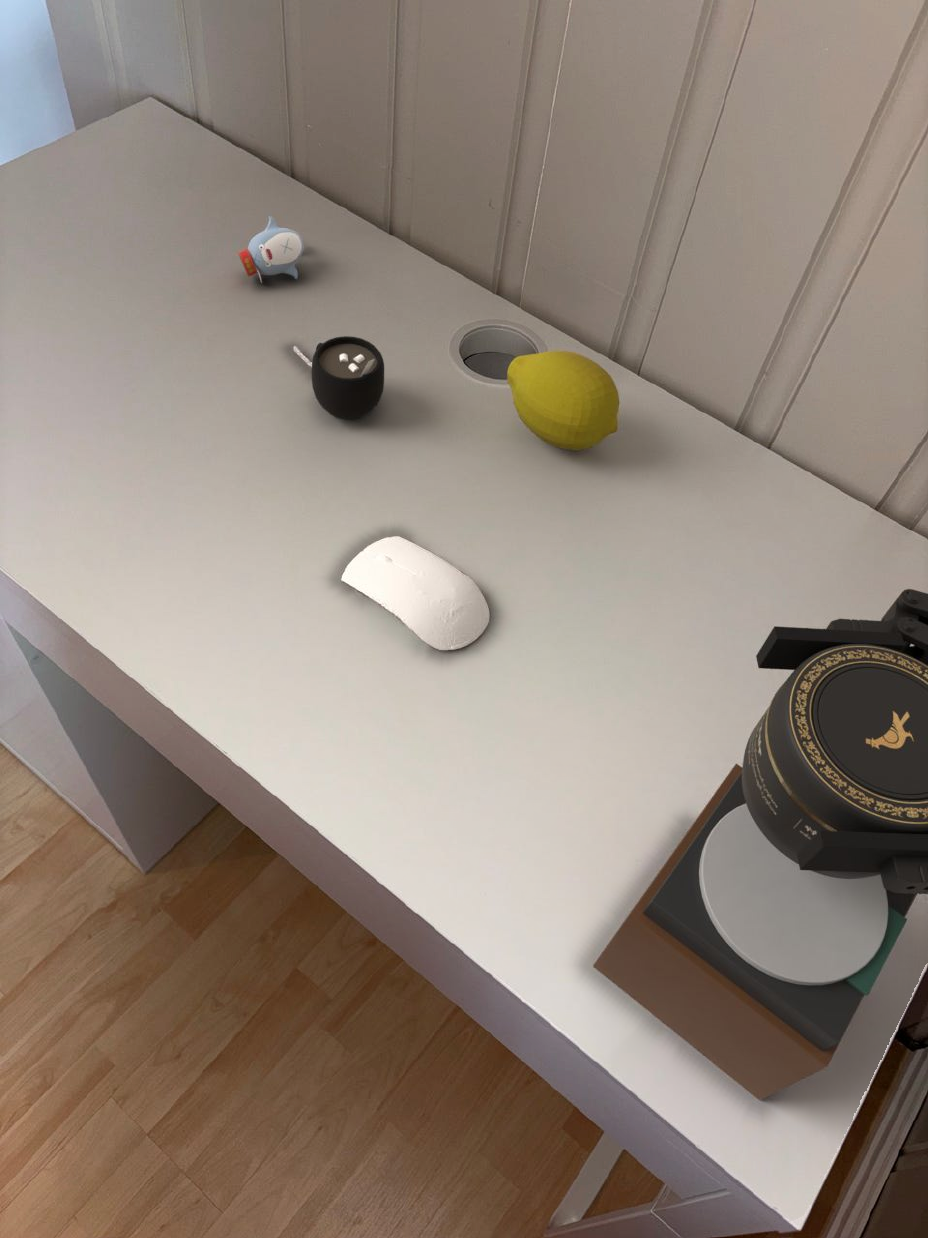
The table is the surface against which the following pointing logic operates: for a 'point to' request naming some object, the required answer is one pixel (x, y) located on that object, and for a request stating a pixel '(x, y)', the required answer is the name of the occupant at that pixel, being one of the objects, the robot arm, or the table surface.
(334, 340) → the mug
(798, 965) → the scale
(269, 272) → the figurine
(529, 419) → the lemon
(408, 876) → the table surface
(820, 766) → the jar
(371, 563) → the computer mouse
